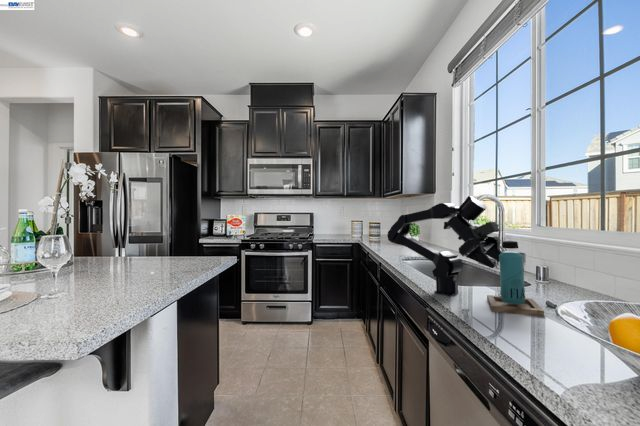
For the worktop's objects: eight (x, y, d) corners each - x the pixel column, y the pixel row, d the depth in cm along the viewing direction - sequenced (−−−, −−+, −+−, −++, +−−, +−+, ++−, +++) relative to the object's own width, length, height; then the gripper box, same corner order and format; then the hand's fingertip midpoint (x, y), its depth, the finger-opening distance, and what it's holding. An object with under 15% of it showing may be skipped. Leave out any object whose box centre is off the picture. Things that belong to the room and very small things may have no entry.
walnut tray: (492, 311, 85) (491, 305, 85) (487, 299, 96) (487, 294, 96) (544, 316, 80) (544, 310, 80) (532, 303, 91) (532, 298, 91)
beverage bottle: (509, 309, 85) (506, 242, 85) (495, 302, 92) (493, 240, 92) (531, 308, 85) (528, 241, 85) (516, 302, 91) (513, 239, 92)
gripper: (467, 213, 90) (507, 252, 81) (493, 213, 101) (531, 246, 92) (444, 237, 96) (479, 275, 87) (471, 234, 107) (505, 267, 98)
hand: (500, 265), depth 91 cm, fingers open, 9 cm apart
